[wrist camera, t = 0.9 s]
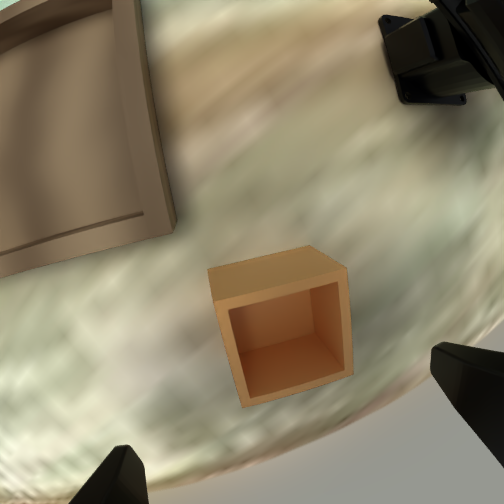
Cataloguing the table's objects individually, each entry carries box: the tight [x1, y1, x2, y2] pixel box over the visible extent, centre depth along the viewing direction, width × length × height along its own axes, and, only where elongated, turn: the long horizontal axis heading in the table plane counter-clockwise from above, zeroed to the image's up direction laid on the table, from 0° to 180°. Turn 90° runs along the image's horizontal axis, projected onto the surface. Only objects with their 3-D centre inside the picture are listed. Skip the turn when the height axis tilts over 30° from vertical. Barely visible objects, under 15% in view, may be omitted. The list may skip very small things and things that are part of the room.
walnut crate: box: [0, 0, 177, 278], centre depth 12 cm, size 14×14×4 cm
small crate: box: [207, 245, 354, 408], centre depth 17 cm, size 6×6×5 cm
